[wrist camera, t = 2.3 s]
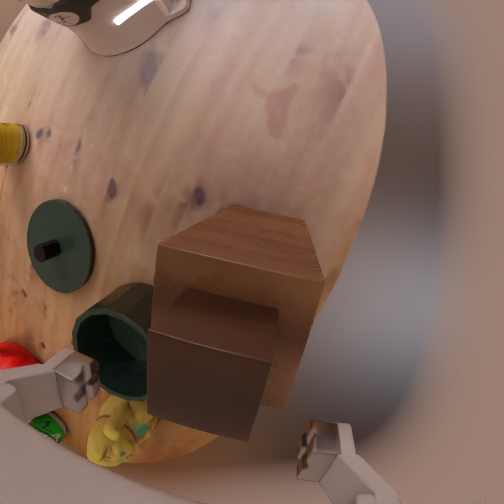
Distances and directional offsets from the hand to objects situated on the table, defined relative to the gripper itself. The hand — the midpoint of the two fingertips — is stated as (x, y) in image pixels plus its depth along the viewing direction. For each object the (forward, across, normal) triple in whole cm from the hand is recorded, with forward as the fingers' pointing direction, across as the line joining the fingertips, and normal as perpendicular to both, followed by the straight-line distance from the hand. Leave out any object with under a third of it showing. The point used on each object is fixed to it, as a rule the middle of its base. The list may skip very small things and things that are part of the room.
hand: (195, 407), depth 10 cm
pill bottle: (+25, +40, -8) cm, 48 cm away
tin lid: (+25, +28, +6) cm, 38 cm away
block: (+5, 0, 0) cm, 5 cm away
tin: (+25, +13, +14) cm, 32 cm away
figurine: (+26, +14, +29) cm, 41 cm away
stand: (+25, 0, 0) cm, 25 cm away
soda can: (+26, +36, +48) cm, 65 cm away
